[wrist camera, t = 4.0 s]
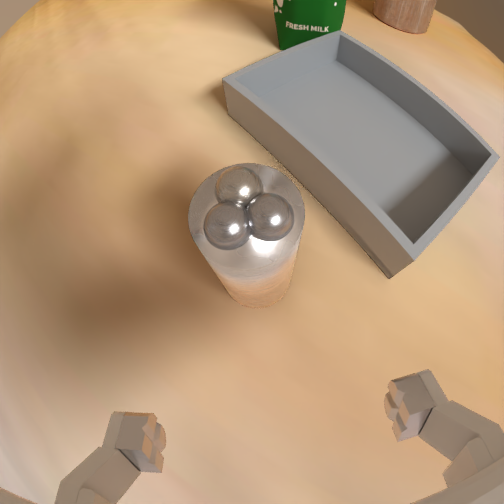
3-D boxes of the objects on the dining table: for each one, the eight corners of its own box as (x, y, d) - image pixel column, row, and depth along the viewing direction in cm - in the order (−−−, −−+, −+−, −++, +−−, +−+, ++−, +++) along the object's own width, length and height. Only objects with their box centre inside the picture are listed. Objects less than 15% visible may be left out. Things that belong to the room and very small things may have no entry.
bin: (228, 114, 30) (222, 78, 25) (334, 61, 32) (339, 30, 27) (389, 279, 23) (414, 260, 18) (476, 182, 26) (499, 157, 21)
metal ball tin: (210, 269, 24) (159, 193, 13) (262, 230, 25) (254, 130, 14) (250, 322, 23) (229, 287, 11) (304, 279, 24) (333, 207, 12)
